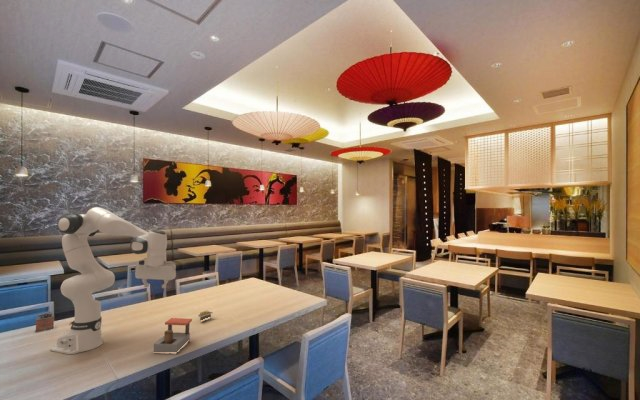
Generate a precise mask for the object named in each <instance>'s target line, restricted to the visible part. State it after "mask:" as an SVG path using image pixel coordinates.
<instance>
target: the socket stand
mask: <svg viewBox="0 0 640 400" xmlns="http://www.w3.org/2000/svg"><path fill="white" fill-rule="evenodd" d="M191 322H193V318H185V317H184V318H181V317H179V318H177V317H171V318H169V319H168V320H167V321H165V322H164V325H165V326H167V330H173V326H185V331H184V332H175V331H173V343H172V344H164V335H163V336H162V337H161V338H160V339H158V340H157V341H155V342H154V343H153V351H152V352H177V351H178V350H179V349H180V348H181V347H182V346H183V345H184V344H185V343H186V342H187V341H188V340H191V339H190V338H191V336H190V335H191V333H190V323H191Z"/></svg>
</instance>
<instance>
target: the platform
mask: <svg viewBox="0 0 640 400" xmlns="http://www.w3.org/2000/svg"><path fill="white" fill-rule="evenodd" d="M213 313H214V312H213V311H208V310H203V311H201V312H199V314H198V315H197V316H198V318H199V321H200V320H203V319H205V318H208V317H211V318H212V314H213Z"/></svg>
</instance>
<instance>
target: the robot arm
mask: <svg viewBox="0 0 640 400" xmlns="http://www.w3.org/2000/svg"><path fill="white" fill-rule="evenodd" d="M57 229H58V231H59V232H60V233H63V234H64V235H63V236H62V238H61V245H62V251H63V253H64V257H65V259H66V262H67V265H68V267H69V268H70V269H71V270H74V271H77V272H79V273H80V274H77V275H74V276H70V277H68V278H66V279H64V280H63V281H62V283H61V285H60V292H61V295H63V296H64V298H67V299H69V300H70V301H71V302H72V304H73V306H74V320H73V321H70V322H69V323H68V324H69V326H70V328H68V329H67V330H66V331H65V332H63V333H62V334H60V335H59V336H58V338H57V340H56V341H57V342H56V344H54V345H53V346H52V347H50V349H49V351H50V352H54V353H60V354H66V355H75V354H78V353H81V352H86V351H90V350H93V349H96V348H98V347H100V346H102V344H104V340H103V337H102V330H101V328H102V303H101V301H100V300H98V299H94V298H93V297H94V296H93V293H97V292H99V291H103V290H106V289H108V288H110V287H112V286H113V285H114V283H115V280H116V275H115V274H114V273H113V271H111V270H109V269H107V268H105V267H103V265H100V263H99V262H98V261H97V260H96V258H95V257H94V255H93V252H92V249H91V246H90V245H89V242H88V241H89V240H88V237H94V236H95V235H96V234H97V233H99V232H101V233H103V234H105V235H107V236H108V235H109V236H129V237H132V239H131V241H130V245H129V246H130V251H131V252H132V253H133V254H135V255H145V254H146V255H147V256H146V257H145V258H143V259H140V260H137V261H136V265H137V266H135V274H134V275H135V276H134V277H135V279H140V280H141V281H142V283H143V288H149V287H150V286H149V285H150V283H148V281H147V280H160V281H161V280H162V281H163V284H161V289H166V288H167V284H168V283H169V281H173V280H174V279H176V277H177V272H176V271H177V270H176V269H177V265H176V263H175V262H173V261H167V251H166V250H167V247H168V237H167V233H166V232H165V231H163V230H161V229H160V230H159V229H158V230H157V229H153V230H149V231H148V230H146V229H144V228H142V227H140V226H138V225H136V224H134V223H131V222H130V221H128V220H126V219H124V218H123V217H120V216H118V215H117V214H115V213H113V212H112V211H110V210H108V209H107V208H106V209H105V208H103V207H101V206H100V207H99V206H95V207H91V208H90V209H89V210H87V212H86V213H85V214H84V213H81V214H80V213H70V214H66V215H65V214H64V215H63V216H60V218H59V219H58V221H57Z"/></svg>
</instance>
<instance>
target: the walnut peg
mask: <svg viewBox="0 0 640 400" xmlns="http://www.w3.org/2000/svg"><path fill="white" fill-rule="evenodd" d="M173 332H174V330H173V329H172V330H168V329H167V330H165V331H164V334H163V336H164V344H172V343H173Z"/></svg>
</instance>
